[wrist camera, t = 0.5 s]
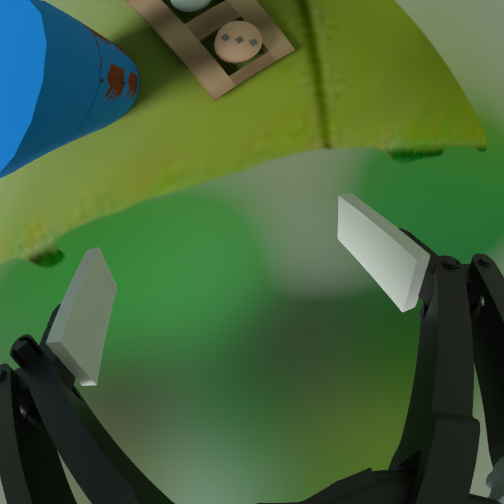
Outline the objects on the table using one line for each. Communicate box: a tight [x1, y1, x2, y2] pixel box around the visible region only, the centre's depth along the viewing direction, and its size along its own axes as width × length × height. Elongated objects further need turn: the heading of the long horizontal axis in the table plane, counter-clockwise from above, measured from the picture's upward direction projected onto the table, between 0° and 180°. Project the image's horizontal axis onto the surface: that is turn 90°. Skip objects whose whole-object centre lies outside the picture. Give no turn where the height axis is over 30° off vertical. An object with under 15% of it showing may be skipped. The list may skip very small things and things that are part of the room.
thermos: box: [0, 0, 140, 178], centre depth 16 cm, size 11×11×25 cm
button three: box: [214, 21, 262, 63], centre depth 24 cm, size 5×5×3 cm
